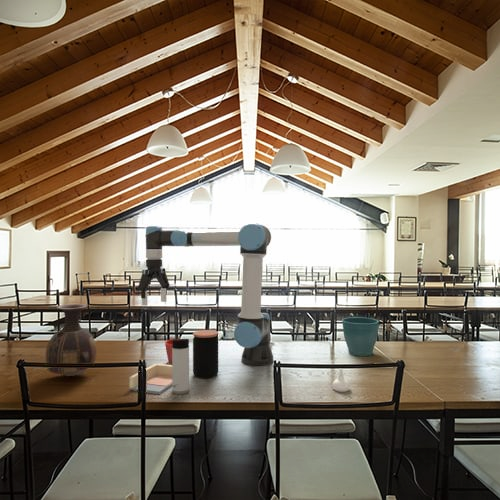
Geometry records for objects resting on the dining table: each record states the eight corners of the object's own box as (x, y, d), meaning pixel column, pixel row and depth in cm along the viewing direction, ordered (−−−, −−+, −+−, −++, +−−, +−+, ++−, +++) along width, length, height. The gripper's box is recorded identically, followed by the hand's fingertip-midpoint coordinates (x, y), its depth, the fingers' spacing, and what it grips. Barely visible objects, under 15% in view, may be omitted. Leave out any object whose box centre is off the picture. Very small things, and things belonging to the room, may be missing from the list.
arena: (183, 378, 157) (183, 366, 157) (159, 394, 140) (159, 380, 140) (155, 375, 161) (155, 363, 161) (129, 390, 144) (129, 377, 144)
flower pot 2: (340, 356, 189) (340, 322, 189) (343, 347, 206) (343, 316, 206) (378, 359, 183) (378, 324, 183) (378, 350, 200) (378, 318, 200)
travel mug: (173, 395, 139) (172, 340, 139) (171, 389, 145) (171, 336, 145) (190, 393, 141) (190, 339, 141) (188, 387, 147) (187, 335, 147)
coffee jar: (223, 373, 163) (223, 331, 163) (208, 380, 154) (208, 336, 154) (203, 369, 169) (203, 329, 169) (187, 376, 160) (187, 333, 160)
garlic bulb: (330, 388, 148) (329, 367, 148) (346, 386, 148) (344, 365, 148) (335, 394, 142) (333, 372, 142) (352, 392, 142) (350, 370, 142)
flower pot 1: (183, 365, 174) (183, 344, 174) (161, 364, 176) (161, 343, 176) (191, 359, 185) (191, 339, 185) (170, 358, 187) (170, 338, 187)
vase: (39, 375, 161) (39, 304, 161) (87, 366, 174) (87, 300, 174) (53, 390, 144) (52, 311, 144) (104, 379, 156) (104, 306, 156)
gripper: (164, 258, 194) (164, 299, 194) (129, 259, 171) (129, 306, 171) (176, 258, 190) (176, 300, 190) (142, 259, 168) (142, 307, 168)
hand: (154, 303), depth 181 cm, fingers open, 13 cm apart
